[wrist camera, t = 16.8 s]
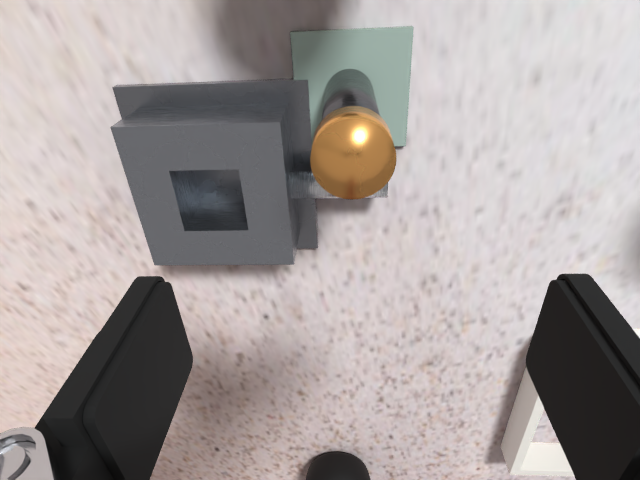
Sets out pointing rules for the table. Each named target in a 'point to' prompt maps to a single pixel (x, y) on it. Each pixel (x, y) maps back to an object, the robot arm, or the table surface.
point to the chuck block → (221, 169)
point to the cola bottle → (337, 467)
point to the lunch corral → (520, 432)
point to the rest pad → (358, 68)
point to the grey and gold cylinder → (352, 139)
